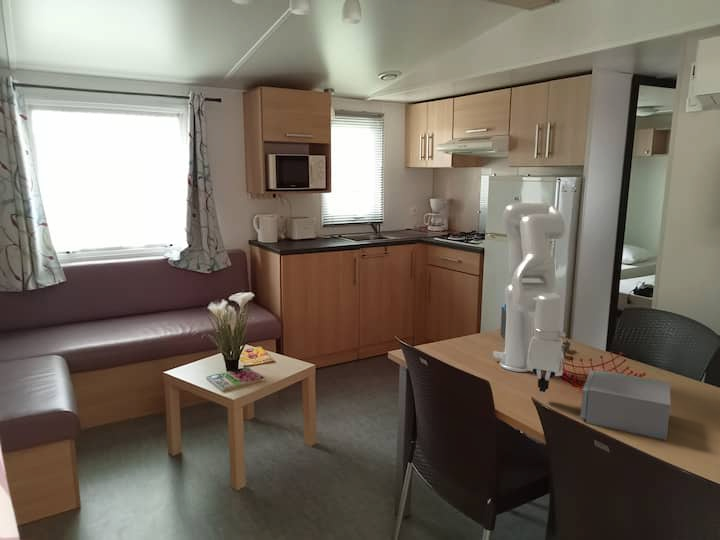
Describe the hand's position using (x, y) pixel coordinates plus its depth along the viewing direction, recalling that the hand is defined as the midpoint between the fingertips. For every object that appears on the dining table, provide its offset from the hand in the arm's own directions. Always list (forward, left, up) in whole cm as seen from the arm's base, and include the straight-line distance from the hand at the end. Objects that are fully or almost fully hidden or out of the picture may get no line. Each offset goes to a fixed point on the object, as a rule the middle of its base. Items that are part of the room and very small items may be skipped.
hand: (542, 390), depth 163 cm
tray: (+22, 0, -2) cm, 22 cm away
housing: (+24, 0, -4) cm, 24 cm away
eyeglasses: (-7, +50, -4) cm, 50 cm away
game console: (-23, +56, -4) cm, 60 cm away
